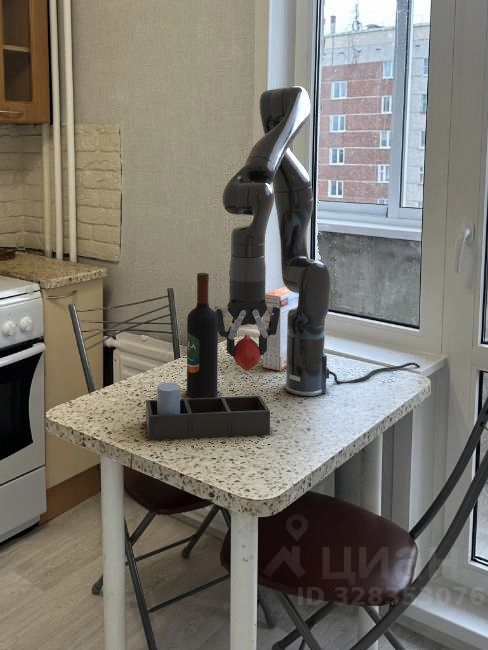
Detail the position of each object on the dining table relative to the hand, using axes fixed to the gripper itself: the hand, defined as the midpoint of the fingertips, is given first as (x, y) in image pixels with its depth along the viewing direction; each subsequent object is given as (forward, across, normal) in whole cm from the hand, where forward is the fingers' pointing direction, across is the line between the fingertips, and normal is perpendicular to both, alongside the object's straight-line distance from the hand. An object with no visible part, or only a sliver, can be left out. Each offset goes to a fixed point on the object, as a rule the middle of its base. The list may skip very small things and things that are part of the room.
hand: (246, 354), depth 142 cm
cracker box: (+17, +20, +43) cm, 51 cm away
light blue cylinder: (+16, -16, +2) cm, 23 cm away
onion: (+4, 0, 0) cm, 4 cm away
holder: (+17, -8, +2) cm, 19 cm away
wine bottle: (+17, -6, +22) cm, 29 cm away
